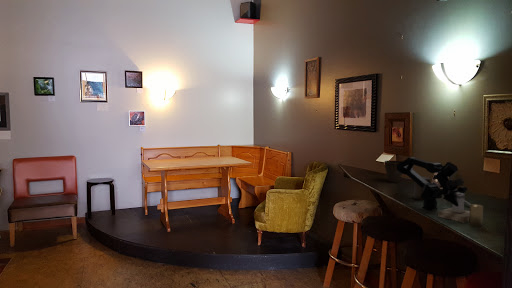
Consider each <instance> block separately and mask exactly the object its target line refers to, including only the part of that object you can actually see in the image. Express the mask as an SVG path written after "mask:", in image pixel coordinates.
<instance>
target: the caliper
mask: <svg viewBox="0 0 512 288" xmlns="http://www.w3.org/2000/svg"><path fill="white" fill-rule="evenodd" d="M464 205H466V206H468V207H469V208H470V205H471V203H470V202H468V201H467V200H466V199H464Z"/></svg>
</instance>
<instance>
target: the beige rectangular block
mask: <svg viewBox="0 0 512 288" xmlns="http://www.w3.org/2000/svg"><path fill="white" fill-rule="evenodd" d="M470 204H471V203H470ZM469 211H470V213H469V221H468V225H469V226H471V227H483V220H484V219H483V217H484V216H483V215H484V205H482V204H476V203H472V204H471V205H470V207H469Z"/></svg>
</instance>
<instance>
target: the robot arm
mask: <svg viewBox="0 0 512 288" xmlns="http://www.w3.org/2000/svg"><path fill="white" fill-rule="evenodd" d="M414 166H416V167H420V168H422V169H425V170H426V171H427V172H428V173H431V174H433V176H432V180H433V181H434V180H436V181H437V182H438V184H439V185H437V183H435V182H431V183H428V182H427V181H426V180H425V179H423V178H422V177H423V176H421V175H419V173H417V172H416V171H415V170H414V168H413V167H414ZM397 171H398V172H400V173H402V174H403V175H405V176H408V177H409V179H411V180H412V181H413V182H414V183H415V182H416V183H417V184H418V185H419V186H420V187H421V188H422V189H423V193H422V194H421V197H422V198H423V199H424V200H423V203H422V204H423V205H422V207H421V208H422V209H424V210H427V211H434V210H437V209H438V202H437V199H438V200H439V199H443V200H446V202H449V204H451V205H452V204H454V205H455V206H458V204H457V202H456V200H455V198H454V197H453V193H457V192H459V193H463V194H465V193H466V192H467V191H468V190H469V189H468V188H467V187H466V186H464V183H465V182H464V179H463V178H461V177H460V178H457V179H456V180H453V179H451V178H452V176H454V175H455V174H456V173H457V172H458V171H459V168H458V165H456V164H454V163H452V162H451V161H447V162H446V163H445V165H442V163H441V162H435V161H434V162H433V161H432V162H431V161H427V160H424V159H421V158H418V157H415V156H409V157H407V158H406V159H404V160H402V162H401V163H398V164H397ZM459 186H460V187H459Z"/></svg>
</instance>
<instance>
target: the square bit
mask: <svg viewBox="0 0 512 288" xmlns="http://www.w3.org/2000/svg"><path fill="white" fill-rule="evenodd" d="M453 197H454V198H455V200H456V202H457V204H458V206H455V205H454V204H452V203H451V205H452V207H451V208H452V212H453V213H457V214H463V213H464V210H465V203H464V200H465V198H466V197H465V193H464V194H463V193H459V192H457V193H453Z"/></svg>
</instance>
